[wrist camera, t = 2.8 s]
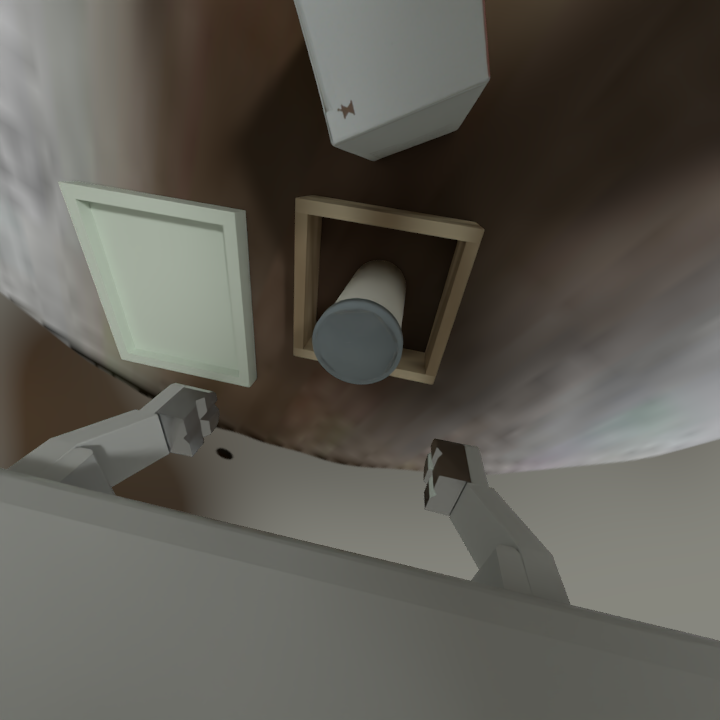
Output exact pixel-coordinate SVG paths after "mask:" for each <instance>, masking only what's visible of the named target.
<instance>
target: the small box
mask: <svg viewBox="0 0 720 720" xmlns="http://www.w3.org/2000/svg"><path fill="white" fill-rule="evenodd" d="M294 3H295V6H296V10H297V13H298V17H299V21H300V24H301V28H302V32H303V35H304V39H305V43H306V46H307V50H308V54H309V57H310V61H311V64H312V68H313V72H314V75H315V79H316V83H317V87H318V91H319V95H320V98H321V103H322V107H323V111H324V116H325V120H326V124H327V128H328V132H329V136H330V141H331V144H332V145H333V146H334V147H336V148H339V149H342V150H344V151H347V152H350V153H353V154H356V155H358V156H361V157H363V158H366V159H368V160H371V161H376V160H378V159H381V158H384V157H386V156H389V155H392V154H394V153H397V152H400V151H403V150H405V149H408V148H411V147H413V146H416V145H419V144H421V143H424V142H427V141H429V140H432V139H435V138H438V137H440V136H443V135H446V134H448V133H451V132H454V131H456V130H458V129H459V127H460V125H461V124H462V122H463V121H464V119H465V118H466V116H467V115H468V113H469V112H470V110H471V108H472V107H473V105H474V104H475V102H476V101H477V99H478V98H479V96H480V94H481V93H482V91H483V90H484V88H485V86H486V85H487V83H488V82H489V80H490V67H489V52H488V39H487V26H486V12H485V0H294Z"/></svg>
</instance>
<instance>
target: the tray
mask: <svg viewBox="0 0 720 720" xmlns="http://www.w3.org/2000/svg"><path fill="white" fill-rule="evenodd" d="M58 183H59V186H60V189H61V191H62V194H63V197H64V200H65V202H66V205H67V208H68V211H69V214H70V216H71V219H72V222H73V225H74V228H75V230H76V233H77V236H78V239H79V242H80V244H81V247H82V250H83V253H84V256H85V258H86V261H87V264H88V267H89V269H90V272H91V275H92V278H93V281H94V283H95V286H96V289H97V292H98V295H99V297H100V300H101V303H102V306H103V309H104V311H105V314H106V317H107V320H108V322H109V325H110V328H111V331H112V334H113V336H114V339H115V342H116V345H117V348H118V350H119V353H120V356H121V359H122V360H127V361H131V362H136V363H140V364H145V365H149V366H154V367H159V368H163V369H168V370H172V371H177V372H181V373H186V374H190V375H195V376H200V377H204V378H209V379H213V380H218V381H222V382H227V383H231V384H236V385H240V386H245V387H250V386H251V385H252V384H253V383H254V382H255V380H256V379H257V372H256V357H255V342H254V327H253V313H252V298H251V283H250V269H249V254H248V239H247V225H246V210H240V209H234V208H228V207H223V206H217V205H211V204H205V203H200V202H194V201H188V200H182V199H177V198H171V197H165V196H160V195H154V194H148V193H142V192H137V191H131V190H125V189H119V188H114V187H108V186H102V185H96V184H91V183H85V182H79V181H71V182H58Z"/></svg>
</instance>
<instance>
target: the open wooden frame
mask: <svg viewBox="0 0 720 720" xmlns="http://www.w3.org/2000/svg"><path fill="white" fill-rule="evenodd" d="M322 217H327V218H333V219H339V220H345V221H350V222H356V223H362V224H368V225H374V226H379V227H385V228H391V229H397V230H403V231H408V232H414V233H420V234H426V235H432V236H437V237H443V238H449V239H455V240H458V242H457V245H456V248H455V252H454V255H453V259H452V262H451V265H450V269H449V272H448V276H447V279H446V282H445V286H444V289H443V293H442V296H441V299H440V303H439V306H438V310H437V313H436V316H435V320H434V323H433V327H432V330H431V333H430V337H429V340H428V344H427V347H426V350H425V353H424V352H419V351H414V350H409V349H405V348H403V349H402V356H401V359H400V362H399V364H398V366H397V367H396V369H395V370H394V371H393V372H392V373H391V374H390V375H389V376H393V377H398V378H403V379H407V380H412V381H417V382H422V383H426V384H431V385H433V383H434V380H435V377H436V374H437V371H438V368H439V365H440V362H441V359H442V356H443V353H444V350H445V347H446V344H447V341H448V338H449V335H450V332H451V329H452V326H453V323H454V320H455V317H456V314H457V311H458V308H459V305H460V302H461V299H462V296H463V293H464V290H465V287H466V284H467V281H468V278H469V275H470V272H471V269H472V266H473V263H474V260H475V257H476V254H477V251H478V248H479V245H480V242H481V239H482V236H483V233H484V230H485V229H483V228H482V227H481V226H480V225H479V224H477V223H476V222H472V221H466V220H460V219H454V218H448V217H443V216H437V215H431V214H425V213H419V212H413V211H407V210H401V209H395V208H389V207H383V206H377V205H371V204H365V203H359V202H353V201H347V200H341V199H335V198H329V197H323V196H317V195H308V196H302V197H297V198H295V264H294V339H293V356H297V357H302V358H307V359H312V360H317V361H318V359H317V358H316V355H315V353H314V350H313V344H312V336H313V331H314V328H315V325H316V315H317V298H318V281H319V264H320V246H321V229H322Z"/></svg>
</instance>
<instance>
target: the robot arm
mask: <svg viewBox="0 0 720 720" xmlns="http://www.w3.org/2000/svg"><path fill="white" fill-rule="evenodd" d="M216 401H217V396H216V393H215V392H213V391H209V390H204V389H200V388H196V387H192V386H186V385H182V384H178V383H174V384H171V385H169V386H168V387H167V388H166V389H164V390H163V391H162V392H161V393H160V394H158V395H157V396H156V397H155V398H154V399H152V400H151V401H150V402H149V403H148V404H146V405H145V406H144V407H143V408H142V409H140V410H132V411H129V412H127V413H124V414H121V415H118V416H115V417H112V418H109V419H106V420H104V421H101V422H98V423H95V424H92V425H89V426H86V427H83V428H80V429H77V430H74V431H72V432H68V433H65V434H63V435H60V436H57V437H54V438H51V439H49V440H48V441H46V442H45V443H43V444H42V445H41V446H39V447H38V448H36V449H35V450H33V451H32V452H31V453H29V454H28V455H26V456H25V457H24V458H22V459H21V460H19V461H18V462H16V463H15V464H14V465H12V466H11V467H9V468H8V469H2V468H0V720H720V641H718V640H714V639H711V638H707V637H702V636H698V635H694V634H690V633H686V632H682V631H678V630H673V629H669V628H665V627H661V626H656V625H653V624H648V623H644V622H640V621H636V620H631V619H628V618H623V617H619V616H615V615H611V614H607V613H603V612H598V611H594V610H590V609H585V608H581V607H577V606H573V605H570V602H569V599H568V596H567V594H566V591H565V588H564V585H563V583H562V580H561V577H560V575H559V572H558V569H557V567H556V564H555V561H554V558H553V556H552V554H551V553H550V552H549V551H548V550H547V549H546V547H545V546H544V545H543V544H542V543H541V542H540V541H539V539H538V538H537V537H536V536H535V535H534V534H533V533H532V532H531V530H530V529H529V528H528V527H527V526H526V525H525V524H524V522H523V521H522V520H521V519H520V518H519V517H518V516H517V514H516V513H515V512H514V511H513V510H512V509H511V508H510V507H509V505H508V504H507V503H506V502H505V501H504V500H503V499H502V498H501V497H500V495H499V494H498V493H497V492H496V491H495V490H494V488H490V487H489V486H488V482H487V478H486V474H485V470H484V466H483V462H482V458H481V454H480V450H479V448H478V447H475V446H470V445H465V444H460V443H455V442H450V441H445V440H440V439H434V440H433V442H432V444H431V453H429V454H428V455H427V458H426V461H425V466H424V482H425V483H426V485H427V486H426V488H425V491H424V503H425V510H428V511H432V512H436V513H440V514H444V515H448V516H450V519H451V521H452V523H453V525H454V526H455V528H456V530H457V531H458V533H459V535H460V537H461V538H462V540H463V542H464V544H465V546H466V547H467V549H468V551H469V552H470V554H471V556H472V558H473V560H474V561H475V563H476V565H477V567H478V568H479V571H478V572H477V573H476V575H475V576H474V577H473V579H472V580H471V581H469V580H465V579H461V578H457V577H453V576H448V575H444V574H440V573H436V572H432V571H428V570H423V569H419V568H415V567H411V566H407V565H402V564H398V563H394V562H390V561H386V560H382V559H378V558H373V557H369V556H365V555H361V554H356V553H353V552H348V551H344V550H340V549H336V548H332V547H328V546H323V545H319V544H315V543H311V542H307V541H302V540H298V539H294V538H290V537H286V536H282V535H277V534H273V533H269V532H265V531H261V530H257V529H252V528H248V527H244V526H239V525H236V524H231V523H227V522H223V521H219V520H215V519H210V518H206V517H202V516H198V515H194V514H190V513H185V512H181V511H177V510H173V509H169V508H165V507H160V506H157V505H152V504H148V503H144V502H140V501H136V500H132V499H127V498H123V497H119V496H116V495H115V494H114V492H113V490H112V488H111V487H112V486H114V485H116V484H117V483H119V482H121V481H123V480H124V479H126V478H128V477H130V476H131V475H133V474H135V473H137V472H138V471H140V470H142V469H144V468H145V467H147V466H149V465H151V464H152V463H154V462H156V461H157V460H159V459H161V458H163V457H164V456H166V455H168V454H169V452H171V453H176V454H181V455H186V456H191V457H193V456H194V454H195V453H196V452H197V451H198V449H199V448H200V447H201V446H202V444H203V443H204V438H203V437H205V436H207V435H209V434H211V433H212V432H213V431H214V429H215V428H216V426H217V423H218V421H219V409H218V408H217V407H216V406H215V404H214V403H215V402H216Z"/></svg>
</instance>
